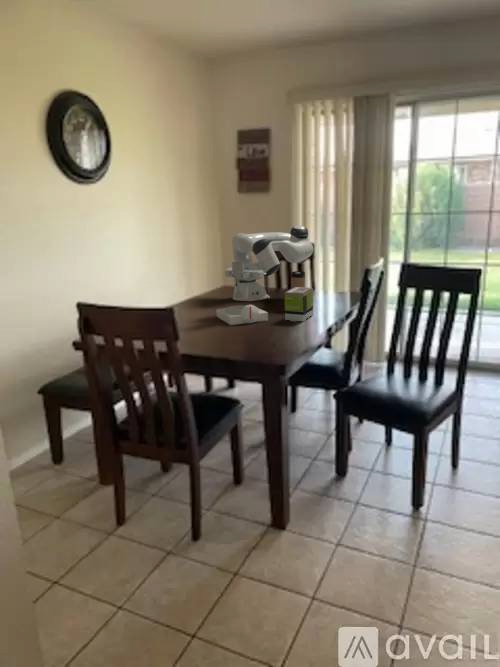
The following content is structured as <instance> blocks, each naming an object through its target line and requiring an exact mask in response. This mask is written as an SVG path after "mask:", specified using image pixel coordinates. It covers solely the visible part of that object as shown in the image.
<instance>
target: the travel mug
mask: <svg viewBox="0 0 500 667" xmlns="http://www.w3.org/2000/svg"><path fill="white" fill-rule="evenodd" d="M294 287H305V288H306V272H305V271H301V270H300V271H299V270H296V271H291V272H290V289H292V288H294Z"/></svg>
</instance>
